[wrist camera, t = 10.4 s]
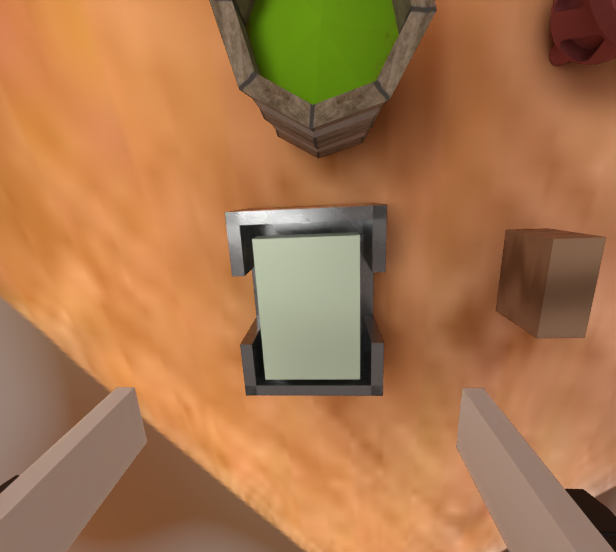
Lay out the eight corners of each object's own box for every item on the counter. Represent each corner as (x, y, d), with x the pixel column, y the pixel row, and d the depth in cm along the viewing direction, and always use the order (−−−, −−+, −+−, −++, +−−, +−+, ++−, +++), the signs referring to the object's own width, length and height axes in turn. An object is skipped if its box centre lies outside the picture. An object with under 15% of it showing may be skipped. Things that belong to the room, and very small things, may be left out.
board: (258, 235, 24) (252, 239, 22) (357, 232, 23) (359, 235, 21) (269, 366, 27) (265, 379, 25) (357, 366, 26) (360, 379, 25)
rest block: (506, 230, 27) (553, 239, 22) (546, 228, 27) (606, 237, 21) (495, 310, 29) (536, 338, 24) (533, 309, 29) (584, 337, 23)
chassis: (247, 208, 28) (224, 212, 22) (373, 203, 28) (386, 204, 21) (261, 357, 33) (246, 395, 26) (371, 356, 32) (382, 395, 25)
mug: (377, 162, 27) (415, 137, 15) (259, 153, 27) (209, 121, 16) (407, -57, 22) (491, -324, 11) (267, -63, 23) (205, -327, 11)
